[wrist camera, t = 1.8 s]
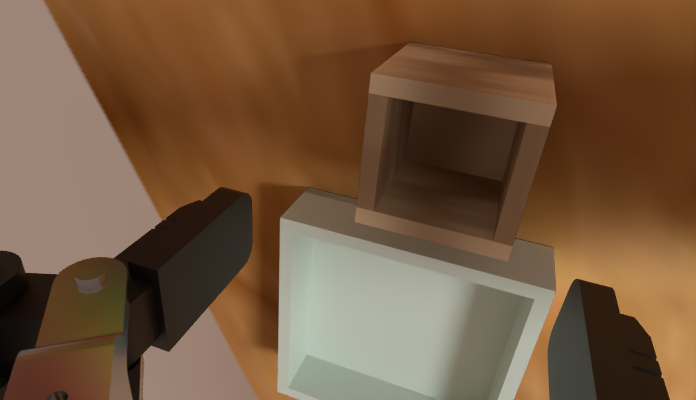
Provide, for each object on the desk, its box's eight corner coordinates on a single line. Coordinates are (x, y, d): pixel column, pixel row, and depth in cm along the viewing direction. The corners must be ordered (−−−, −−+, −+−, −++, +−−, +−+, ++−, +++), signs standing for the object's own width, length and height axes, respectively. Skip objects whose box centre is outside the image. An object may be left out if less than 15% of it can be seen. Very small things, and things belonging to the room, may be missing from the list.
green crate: (553, 247, 23) (555, 291, 20) (491, 417, 30) (486, 468, 27) (308, 187, 26) (280, 217, 24) (300, 351, 33) (277, 391, 30)
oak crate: (551, 64, 20) (557, 105, 15) (514, 191, 23) (507, 261, 18) (410, 42, 21) (370, 73, 16) (392, 164, 24) (354, 222, 19)
